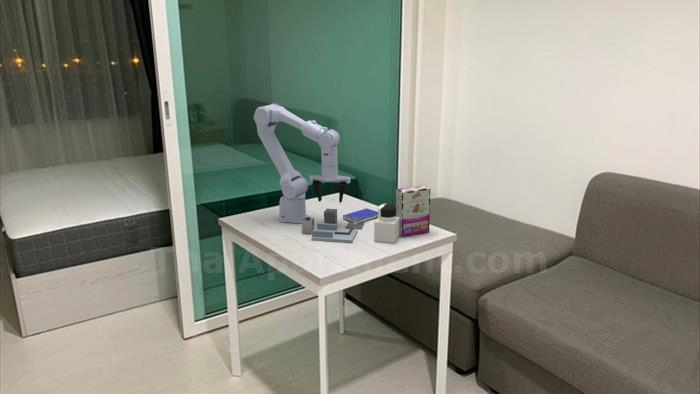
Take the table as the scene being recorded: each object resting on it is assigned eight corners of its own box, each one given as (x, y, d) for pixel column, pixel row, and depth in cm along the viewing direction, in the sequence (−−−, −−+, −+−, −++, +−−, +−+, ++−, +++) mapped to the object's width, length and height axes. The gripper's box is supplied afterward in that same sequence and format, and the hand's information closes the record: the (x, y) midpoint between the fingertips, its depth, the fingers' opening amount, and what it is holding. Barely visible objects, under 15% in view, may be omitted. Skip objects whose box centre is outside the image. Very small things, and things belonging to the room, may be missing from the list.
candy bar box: (422, 228, 190) (423, 184, 185) (429, 232, 186) (431, 188, 181) (394, 232, 186) (395, 188, 181) (401, 237, 182) (402, 192, 177)
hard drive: (357, 219, 193) (381, 212, 202) (342, 214, 199) (365, 207, 207) (357, 223, 194) (381, 216, 202) (342, 218, 200) (365, 211, 208)
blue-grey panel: (311, 240, 180) (311, 232, 179) (320, 227, 192) (320, 219, 191) (351, 243, 177) (351, 234, 176) (358, 229, 189) (358, 221, 188)
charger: (324, 226, 193) (323, 211, 191) (326, 222, 197) (326, 208, 195) (334, 227, 192) (334, 212, 190) (337, 223, 196) (337, 208, 194)
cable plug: (302, 234, 186) (301, 218, 184) (305, 230, 189) (304, 215, 187) (311, 234, 185) (311, 219, 183) (314, 231, 188) (314, 216, 187)
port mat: (345, 228, 190) (345, 227, 190) (348, 222, 196) (348, 222, 196) (361, 229, 189) (361, 228, 189) (364, 223, 195) (364, 223, 195)
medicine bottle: (399, 236, 183) (400, 203, 179) (394, 243, 177) (395, 209, 173) (379, 233, 185) (380, 201, 182) (373, 241, 179) (374, 207, 175)
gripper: (306, 166, 185) (308, 203, 189) (347, 168, 182) (347, 205, 187) (312, 161, 192) (313, 197, 196) (351, 163, 189) (351, 199, 193)
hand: (330, 201), depth 192 cm, fingers open, 7 cm apart
